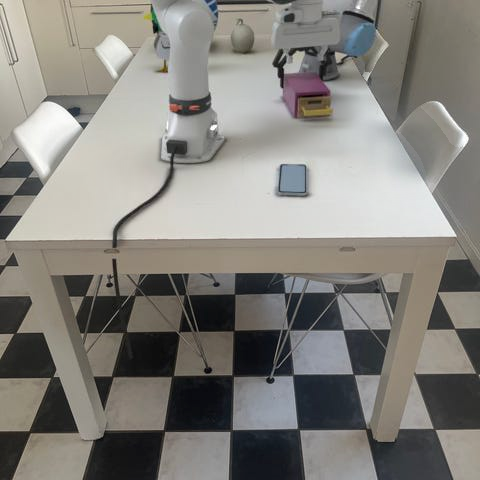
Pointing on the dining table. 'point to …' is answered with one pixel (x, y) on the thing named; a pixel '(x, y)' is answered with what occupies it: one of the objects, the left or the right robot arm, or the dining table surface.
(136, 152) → the dining table surface
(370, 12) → the right robot arm
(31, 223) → the dining table surface
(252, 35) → the fruit
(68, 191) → the dining table surface
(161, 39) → the toy
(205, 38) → the left robot arm
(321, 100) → the drawer
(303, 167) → the smartphone
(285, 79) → the purple drawer cabinet
